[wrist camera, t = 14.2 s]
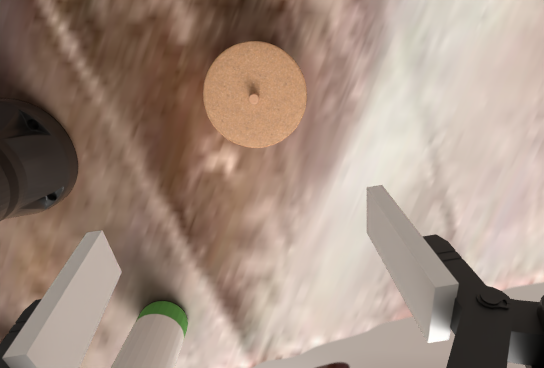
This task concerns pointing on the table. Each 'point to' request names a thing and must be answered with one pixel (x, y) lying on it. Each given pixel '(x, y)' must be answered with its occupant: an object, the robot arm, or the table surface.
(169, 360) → the wine bottle
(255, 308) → the table surface
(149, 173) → the table surface
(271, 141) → the lidded jar
